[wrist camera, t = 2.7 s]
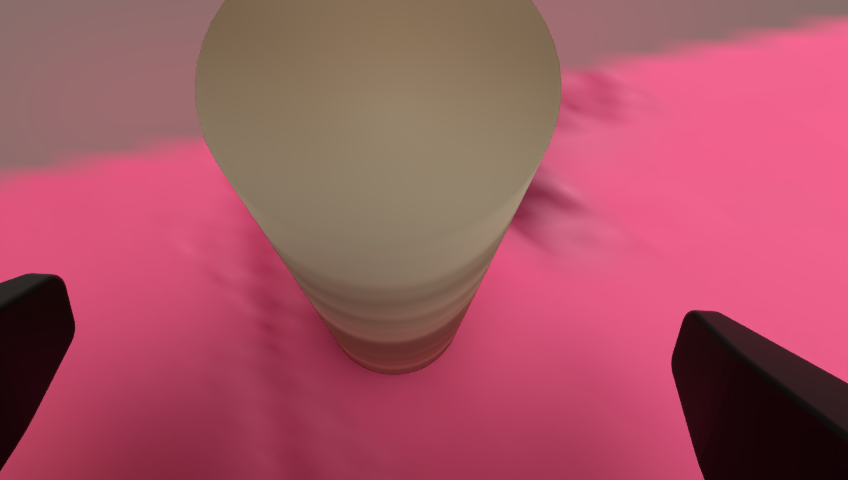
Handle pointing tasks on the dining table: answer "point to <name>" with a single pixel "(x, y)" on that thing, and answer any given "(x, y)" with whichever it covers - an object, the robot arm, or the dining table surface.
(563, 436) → the dining table surface
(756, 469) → the robot arm
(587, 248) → the dining table surface
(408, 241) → the keyed peg
